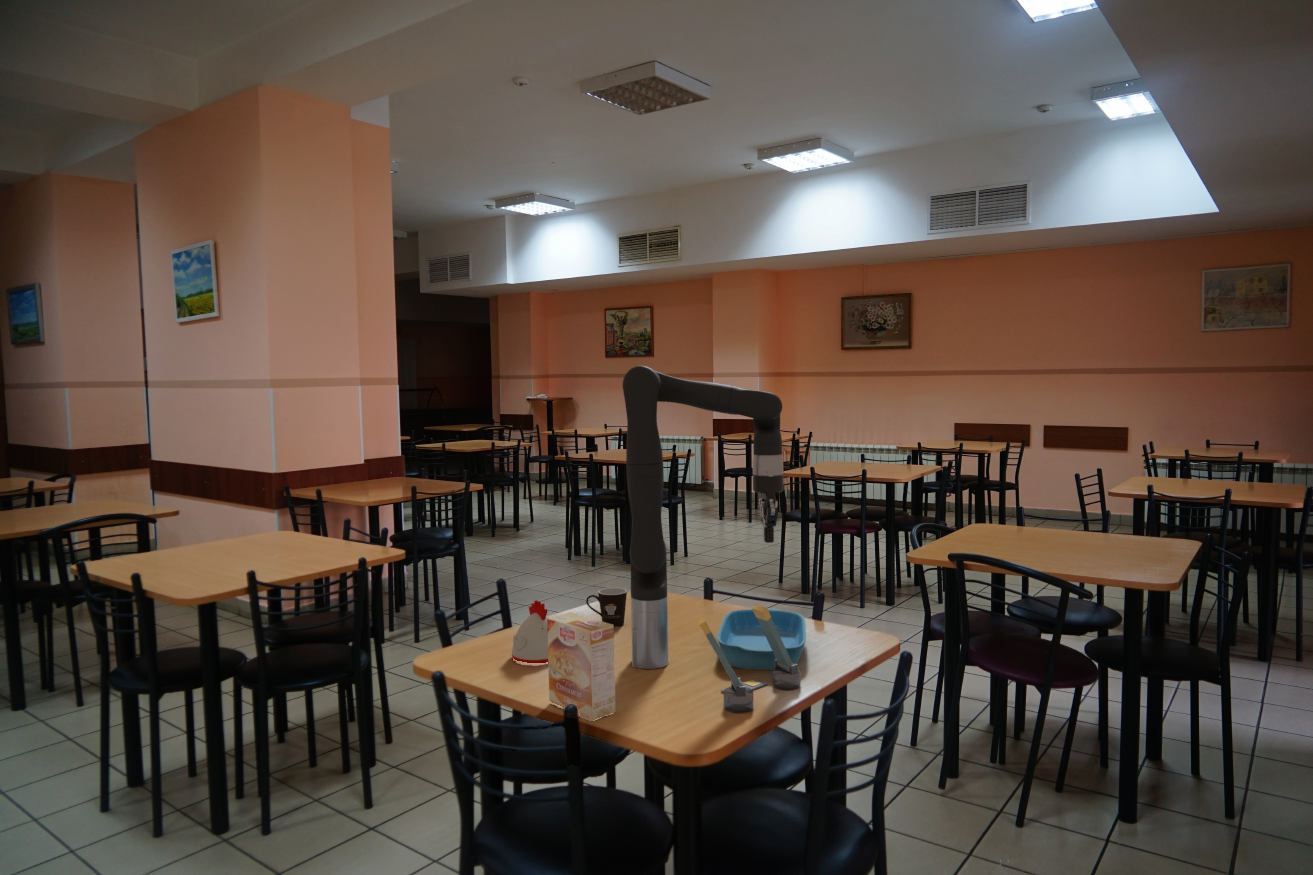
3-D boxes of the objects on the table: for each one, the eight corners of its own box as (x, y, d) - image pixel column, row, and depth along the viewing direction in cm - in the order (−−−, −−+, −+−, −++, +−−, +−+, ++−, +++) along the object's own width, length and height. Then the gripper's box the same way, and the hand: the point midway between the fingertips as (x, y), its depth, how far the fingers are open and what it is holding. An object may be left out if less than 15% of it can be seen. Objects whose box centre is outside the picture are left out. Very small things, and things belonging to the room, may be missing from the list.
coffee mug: (633, 622, 239) (632, 589, 238) (616, 629, 232) (616, 596, 231) (601, 617, 245) (601, 585, 245) (584, 624, 238) (584, 591, 237)
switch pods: (740, 715, 168) (740, 689, 167) (717, 707, 172) (717, 682, 172) (806, 684, 185) (805, 661, 184) (783, 678, 189) (783, 655, 189)
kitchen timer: (529, 670, 199) (527, 610, 198) (502, 656, 209) (500, 600, 209) (575, 657, 208) (574, 601, 207) (547, 645, 218) (546, 591, 218)
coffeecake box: (548, 704, 176) (545, 617, 175) (573, 695, 181) (571, 611, 180) (591, 723, 165) (589, 630, 164) (617, 713, 170) (614, 623, 169)
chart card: (734, 697, 178) (734, 694, 178) (720, 691, 181) (720, 689, 181) (767, 684, 185) (767, 682, 185) (753, 679, 189) (753, 677, 189)
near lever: (742, 683, 174) (703, 615, 173) (746, 690, 170) (706, 620, 169) (734, 688, 174) (695, 620, 172) (738, 695, 170) (698, 625, 168)
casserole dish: (806, 678, 189) (806, 649, 189) (713, 674, 193) (712, 645, 193) (805, 633, 226) (805, 608, 225) (727, 630, 230) (726, 606, 229)
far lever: (784, 663, 187) (756, 603, 182) (796, 667, 184) (768, 607, 178) (779, 668, 186) (750, 608, 181) (790, 673, 183) (762, 612, 177)
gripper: (748, 470, 203) (749, 537, 204) (757, 475, 190) (758, 547, 191) (777, 470, 204) (778, 537, 204) (788, 474, 190) (789, 546, 191)
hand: (768, 541), depth 198 cm, fingers closed
